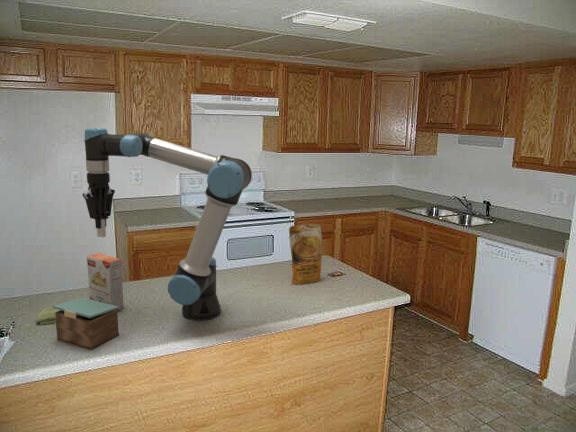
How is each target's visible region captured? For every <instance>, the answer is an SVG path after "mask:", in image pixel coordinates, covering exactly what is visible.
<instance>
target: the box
mask: <svg viewBox="0 0 576 432" xmlns="http://www.w3.org/2000/svg"><path fill="white" fill-rule="evenodd" d="M121 311H122V309H116V310H113V311H110V312H107V313H104V314H101V315H98V316H95V317H92V318H88V317H84V316H82V317H83V318H84V319H83V318H79V317H76V319H73V318H70V317H66V316H64V311H62V310H60V311H57V312H55V317H56V324H55V327H56V329H55V330H56V340H57V341H59V342H64V343H67V344H71V345H74V346H76V347H80V348H83V349H86V350H90V351H93V350H95V349H97V348H99V347H101V346H102V345H104V344H106V343H108V342H109V341H112V340H113V339H115V338H117V337H119V318H118V317H119V316H118V315H119V314H118V312H119V313H120V312H121Z"/></svg>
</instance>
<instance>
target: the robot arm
mask: <svg viewBox="0 0 576 432" xmlns="http://www.w3.org/2000/svg"><path fill="white" fill-rule="evenodd" d="M83 142H84V149H85V150H84V151H85V163H86V164H85V165H86V166H85V169H86V172H87V173H86V182H87V184H88V188H87V191H86V192H84V193H82V197H83V199H84V200H85V204H86V208H87V211H88V214H89V219H91V220H92V219H93V220H94V221H95V222H94V224H95V229H96V235H97V236H96V237H99V238H106V237H107V231H106V230H107V229H106V227H107V220H108V219H109V217H111V215H112V207H113V200H114V194H115V193H116V190H115V189H112V188H110V182H111V177H110V173H109V172H110V162H109V161H110V160H109V159H110V158H109V156H110V157H127V158H133V157H135V158H136V157H139V156H140V155H141V156H144V157H148V158H151V159H155V160H158V161H162V162H164V163H168V164H171V165H174V166H178V167H180V168H184V169H188V170H191V171H194V172H197V173H200V174H204V175H207V176H206V184H207V186H206V190H205V192H204V193H205V196H206V199H207V200H206V202H205V205H204V207H203V211H202V212H201V213H202V214H201V216H200V218H199V220H198V224H197V227H196V229H195V232H194V234H193V237H192V239H191V243H190V245H189V249H188V251H187V254H186V257H185V258H183V259H181V260H180V261H179V262H178V265H177V268H176V271H175V274H174V275H173V276H172V277H171V278H170V280H169V281H168V283H167V293H168V294H169V297H170V298H171V300H173V301H174V302H175V303H177V304H179V305H182V307H181V315H182V317H183V318H185V319H187V320H190V321H207V320H211V319H215V318H217V317H219V315H220V314H221V311H222V309H221V304H220V300H219V298H218V295H217V267H218V266H217V260H216V258H215V257H213V255H214V254H215V250H216V248H217V246H218V243H219V241H220V237H221V236H222V232H223V230H224V227H225V224H226V221H227V219H228V217H229V215H230V211H231V209H232V208H233V207H236V206H237V205H238V202H239V200H240V198H241V195H242V193H243V190H244V189H246V188H247V187H248V186H249V185H250V184H251V181H252V178H253V175H252V174H253V173H252V169H251V167H250V165H249V164H248V163H247V162H246V161H244V160H243V159H240V158H236V157H231V156H226V155H224V154H220V155H218V156H217V155H213V154H211V153H207V152H204V151H201V150H197V149H194V148H191V147H186V146H184V145H180V144H178V143H173V142H170V141H166V140H163V139H160V138H156V137H153V136H152V135H151V134H148V133H144V132H141V133H140V132H139V133H131V134H130V133H128V134H127V133H126V134H112V133H109V132H108V128H104V127H87V128H85V129H84V141H83Z"/></svg>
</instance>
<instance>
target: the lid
mask: <svg viewBox="0 0 576 432" xmlns="http://www.w3.org/2000/svg"><path fill="white" fill-rule="evenodd" d="M52 307H53V308H54V309H58V310H62V311H64V316H66V317H70V318H73V319H76V314H77V315H80V316H84V317H88V318H92V317H95V316H98V315H101V314H104V313H107V312H110V311H113V310H116V309H119V306H114V305H110V304H106V303H102V302H98V301H94V300H90V298H86V297H80V298H77V299H73V300H70V301H65V302H61V303H59V304H55V305H52Z"/></svg>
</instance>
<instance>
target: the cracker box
mask: <svg viewBox="0 0 576 432" xmlns="http://www.w3.org/2000/svg"><path fill="white" fill-rule="evenodd" d="M86 261H87V263H86V264H87V276H88V291H89V299H90V300H94V301H98V302H102V303H106V304H110V305H114V306H119V309H121V310H122V309H123V308H124V292H123V290H124V289H123V271H122V270H123V269H122V259H121V258H118V257H114V256H110V255H107V254H102V253H101V252H98V253H94V254H90V255H89V254H88V255H87V256H86Z"/></svg>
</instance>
